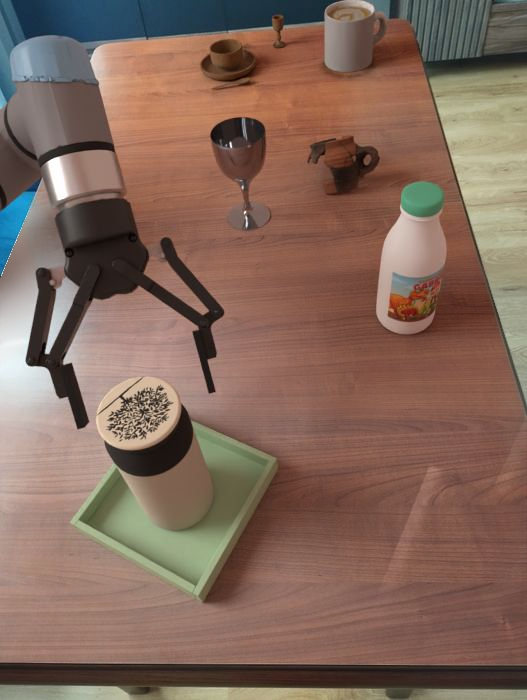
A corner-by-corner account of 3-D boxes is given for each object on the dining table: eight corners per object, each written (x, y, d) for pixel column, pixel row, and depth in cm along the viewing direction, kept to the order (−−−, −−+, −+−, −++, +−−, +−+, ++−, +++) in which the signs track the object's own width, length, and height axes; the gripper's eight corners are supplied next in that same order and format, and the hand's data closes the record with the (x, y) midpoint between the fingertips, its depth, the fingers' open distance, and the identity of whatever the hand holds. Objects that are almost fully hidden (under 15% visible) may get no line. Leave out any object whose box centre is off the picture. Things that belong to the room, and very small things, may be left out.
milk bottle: (365, 322, 79) (374, 202, 63) (391, 286, 83) (406, 164, 67) (418, 344, 76) (442, 223, 60) (443, 306, 79) (471, 182, 64)
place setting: (196, 55, 131) (192, 27, 127) (283, 40, 132) (282, 12, 128) (206, 93, 120) (201, 64, 116) (300, 76, 121) (299, 47, 117)
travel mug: (228, 500, 64) (201, 413, 50) (168, 547, 61) (121, 469, 47) (188, 451, 68) (152, 358, 54) (130, 493, 66) (76, 407, 52)
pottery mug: (307, 199, 97) (298, 147, 94) (321, 189, 105) (313, 141, 102) (379, 187, 92) (372, 132, 89) (388, 177, 100) (381, 127, 97)
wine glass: (214, 216, 96) (199, 133, 84) (251, 194, 98) (241, 110, 87) (244, 239, 91) (232, 155, 80) (283, 215, 94) (276, 130, 82)
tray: (77, 531, 64) (69, 522, 62) (161, 415, 72) (156, 404, 70) (202, 603, 58) (198, 596, 56) (278, 468, 67) (277, 458, 65)
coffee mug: (330, 75, 121) (331, 24, 113) (319, 54, 127) (319, 4, 119) (393, 65, 121) (398, 13, 113) (380, 44, 127) (383, -7, 119)
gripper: (211, 184, 63) (259, 372, 66) (-22, 238, 61) (37, 432, 63) (214, 169, 56) (268, 381, 58) (-51, 230, 53) (17, 450, 56)
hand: (148, 408), depth 61 cm, fingers open, 13 cm apart
